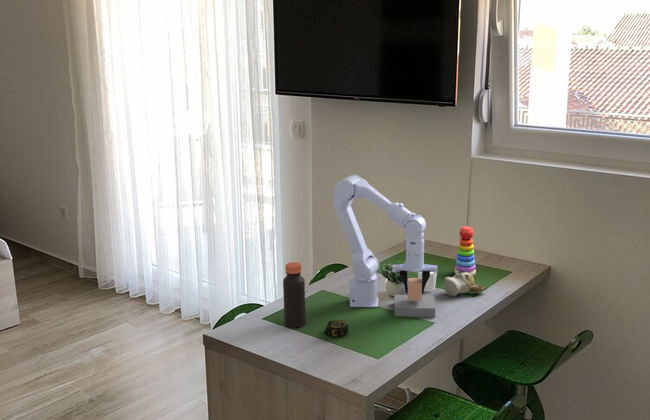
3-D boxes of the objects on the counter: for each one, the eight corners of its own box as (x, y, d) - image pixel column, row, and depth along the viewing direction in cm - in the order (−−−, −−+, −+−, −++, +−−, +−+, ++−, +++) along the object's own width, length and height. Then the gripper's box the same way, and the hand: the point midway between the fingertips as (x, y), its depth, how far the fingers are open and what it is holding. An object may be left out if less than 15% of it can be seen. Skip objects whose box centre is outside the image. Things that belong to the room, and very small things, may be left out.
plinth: (394, 316, 225) (394, 307, 224) (394, 303, 236) (394, 294, 235) (434, 317, 224) (435, 308, 223) (433, 303, 234) (433, 295, 234)
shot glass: (436, 293, 244) (436, 274, 242) (416, 291, 245) (416, 273, 243) (437, 285, 250) (437, 267, 248) (417, 284, 251) (418, 266, 250)
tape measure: (328, 329, 217) (327, 318, 216) (349, 330, 216) (349, 319, 215) (324, 339, 210) (324, 327, 209) (346, 340, 209) (346, 328, 208)
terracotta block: (407, 300, 226) (407, 282, 225) (407, 294, 231) (407, 278, 229) (421, 300, 226) (421, 283, 224) (421, 295, 230) (421, 278, 229)
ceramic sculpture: (436, 268, 243) (470, 263, 249) (434, 291, 245) (468, 286, 251) (455, 277, 233) (490, 272, 240) (453, 301, 236) (487, 296, 242)
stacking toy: (450, 271, 264) (451, 224, 259) (469, 269, 266) (471, 222, 261) (460, 278, 257) (462, 230, 252) (479, 275, 259) (481, 227, 254)
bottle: (280, 324, 221) (277, 264, 216) (296, 317, 226) (294, 259, 220) (294, 330, 216) (292, 270, 211) (310, 323, 221) (308, 264, 216)
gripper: (392, 257, 221) (392, 296, 225) (438, 257, 220) (437, 297, 224) (392, 249, 228) (392, 288, 232) (437, 250, 227) (436, 289, 230)
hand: (414, 292), depth 228 cm, fingers closed on terracotta block, 4 cm apart
